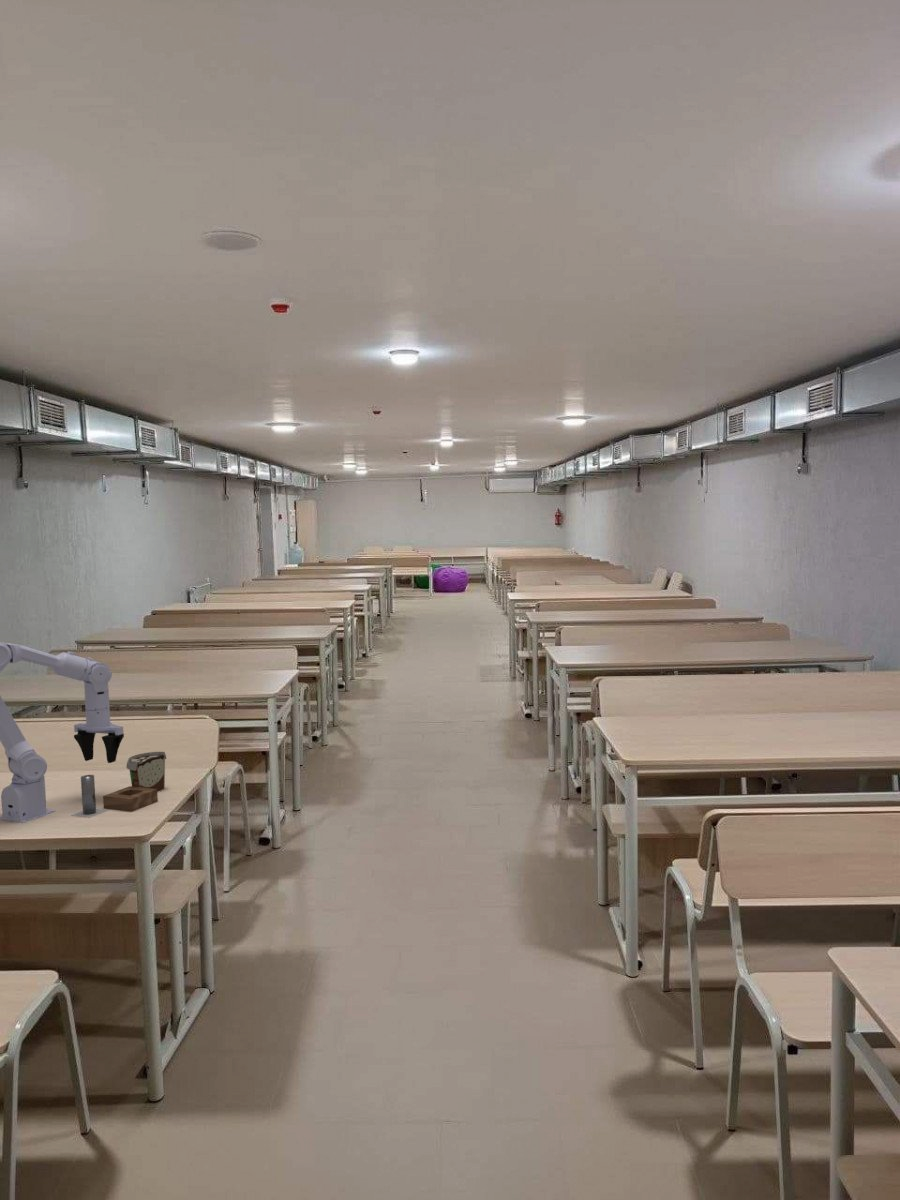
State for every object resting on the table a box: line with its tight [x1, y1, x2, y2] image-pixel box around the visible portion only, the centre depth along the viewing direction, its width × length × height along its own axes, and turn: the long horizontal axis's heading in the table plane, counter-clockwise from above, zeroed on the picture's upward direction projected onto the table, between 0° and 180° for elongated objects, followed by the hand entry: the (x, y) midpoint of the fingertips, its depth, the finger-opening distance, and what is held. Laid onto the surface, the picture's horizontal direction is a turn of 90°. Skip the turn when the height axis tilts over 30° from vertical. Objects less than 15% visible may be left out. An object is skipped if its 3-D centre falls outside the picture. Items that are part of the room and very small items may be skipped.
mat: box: [70, 808, 109, 819], centre depth 215 cm, size 6×6×1 cm
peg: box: [80, 774, 97, 815], centre depth 215 cm, size 3×3×9 cm
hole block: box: [102, 785, 159, 813], centre depth 221 cm, size 9×9×4 cm
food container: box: [125, 751, 167, 793], centre depth 232 cm, size 12×6×10 cm, turn 160°
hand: (100, 761), depth 227 cm, fingers open, 7 cm apart
